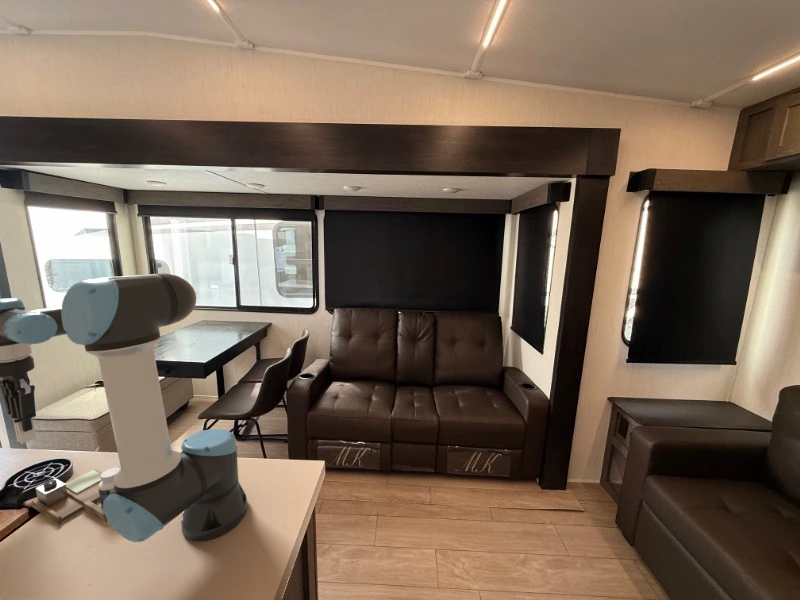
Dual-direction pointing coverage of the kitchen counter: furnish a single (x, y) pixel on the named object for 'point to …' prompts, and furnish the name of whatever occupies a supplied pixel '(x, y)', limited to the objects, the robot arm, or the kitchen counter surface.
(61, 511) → the station
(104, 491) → the pill bottle
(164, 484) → the robot arm
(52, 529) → the kitchen counter surface
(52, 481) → the latch bolt
